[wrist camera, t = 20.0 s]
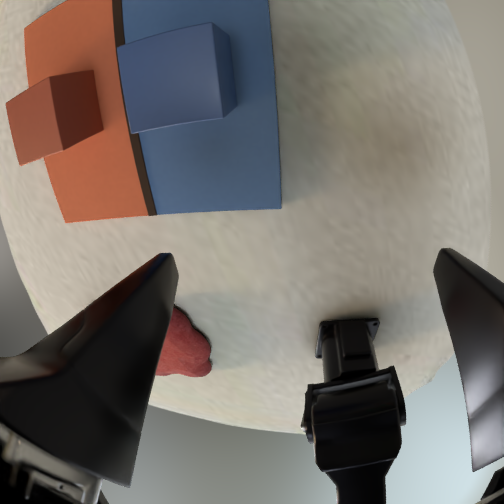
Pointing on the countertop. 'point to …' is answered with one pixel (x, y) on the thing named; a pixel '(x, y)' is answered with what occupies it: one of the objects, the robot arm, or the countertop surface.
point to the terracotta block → (54, 115)
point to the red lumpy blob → (184, 349)
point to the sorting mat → (167, 138)
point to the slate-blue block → (177, 77)
